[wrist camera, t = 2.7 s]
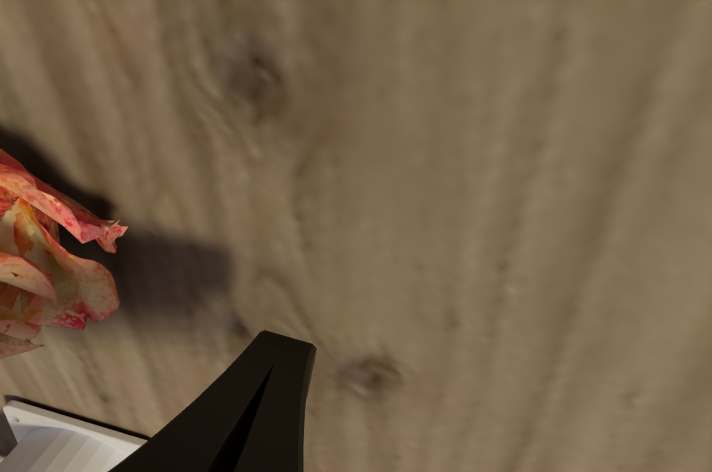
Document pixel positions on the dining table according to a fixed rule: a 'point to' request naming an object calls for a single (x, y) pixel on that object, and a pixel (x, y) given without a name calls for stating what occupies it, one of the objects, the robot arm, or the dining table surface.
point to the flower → (47, 260)
